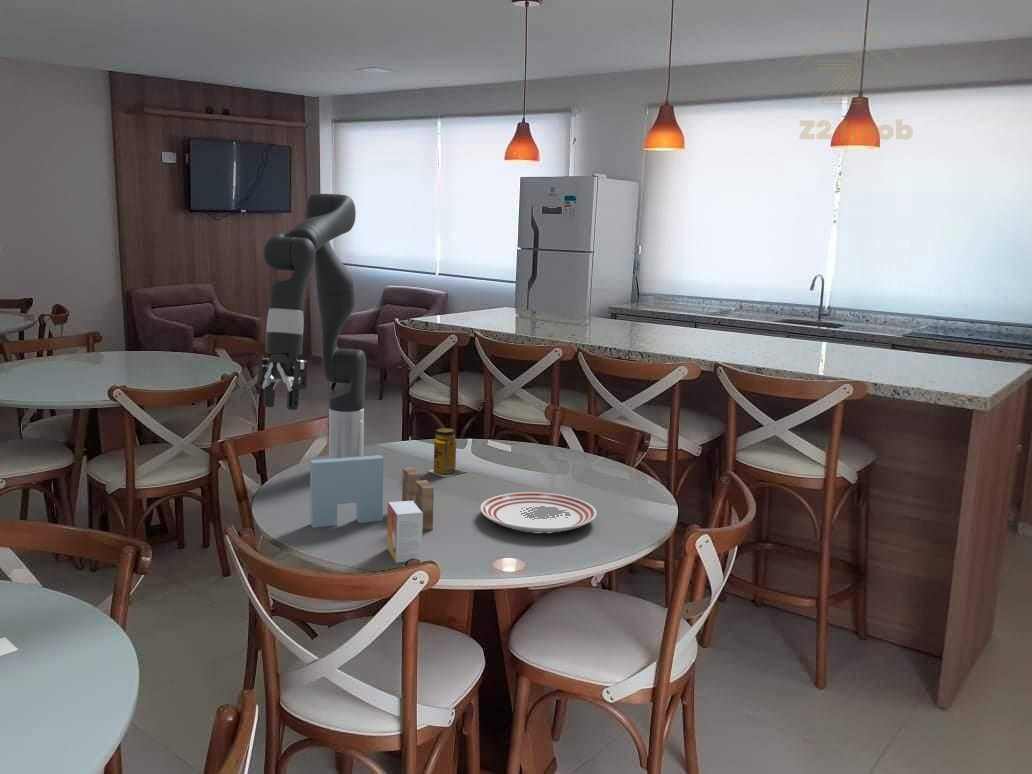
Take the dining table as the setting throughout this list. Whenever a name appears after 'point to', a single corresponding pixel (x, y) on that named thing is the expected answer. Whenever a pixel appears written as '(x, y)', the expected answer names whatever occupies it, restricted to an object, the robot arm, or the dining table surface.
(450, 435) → the condiment
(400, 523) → the small box
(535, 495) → the dinner plate
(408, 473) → the walnut block
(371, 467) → the light blue square panel
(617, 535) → the dining table surface
